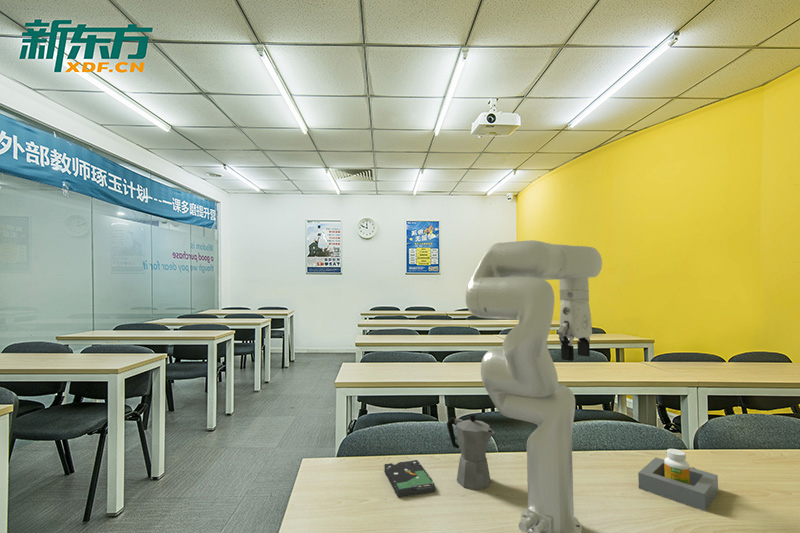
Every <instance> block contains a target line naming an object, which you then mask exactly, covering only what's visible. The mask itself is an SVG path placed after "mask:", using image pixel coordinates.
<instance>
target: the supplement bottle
mask: <svg viewBox="0 0 800 533" xmlns="http://www.w3.org/2000/svg"><path fill="white" fill-rule="evenodd" d="M666 455H667V457H665V458H664V459H663V460H664V468H665V477H666V478H670V479H673V480H676V481H679V482H682V483H686V484H689V485H690V468H689V467H690V464H689V462H688V461H686V460H687V457H686V456H687V455H686V453H685V452H684V451H683V450H680V449H676V448H668V449H667V450H666Z"/></svg>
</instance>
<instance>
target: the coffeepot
mask: <svg viewBox="0 0 800 533" xmlns="http://www.w3.org/2000/svg"><path fill="white" fill-rule="evenodd" d="M476 416H477V415H476V414H474V413H471V414H469V418H470V419H466V420H463V419H461V418H458V417H457V418H456V417H453V416H451V417H450V418H449V419H448V420H447V422H446V426H447V427H446V428H447V430H448V433H449V438H450V442H451V445H452V447H454V448H456V449H459V450H460V457H459V462H458V468H457V475H456V482H457V483H458V484H459V485H460V486H462V487H463V488H465V489H469V490H474V491H475V490H479V491H480V490H484V489H486V488H488V487H489V486H490V482H491V476H490V475H491V474H490V470H489V464H488V458H487V456H486V455H487V454H486V453H487V451H488V444H489V442H490V440H491V438H492V437H493V435H495V434H496V433H495V431H494V430H493V429H491V425H489V424H488V423H486V422H484V421H482V420H476ZM454 426H455V429H456V435H457V441H458V442H457V443H458V444H457V443H456V435H455V433H454Z"/></svg>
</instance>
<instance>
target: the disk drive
mask: <svg viewBox="0 0 800 533" xmlns="http://www.w3.org/2000/svg"><path fill="white" fill-rule="evenodd" d="M383 465H384V467H383V468H384V470H383V472H384V473H385V474H384V475H385V476H386V478H387V479H388V482H389V483H390V485H391V488H392V489H393V490H394V494H395V495H396V497H397V498H398V499H401V498H407V497H414V496H418V495H419V496H420V495H425V494H433V493H436V485H435V483H434V479H432V477H431V476H430V475H429V473H428V472H427V471H426V470H425V468H424V467H423V465H422V464H421V462H420V461H419V460H417V459H413V460H408V461H399V462H398V463H396V464H393V463H392V462H389V463H385V464H383Z"/></svg>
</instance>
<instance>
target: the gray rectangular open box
mask: <svg viewBox="0 0 800 533" xmlns="http://www.w3.org/2000/svg"><path fill="white" fill-rule="evenodd" d="M664 460H665V459H663V458H660V457H656V456H655V457H654V458H653V459H652V460H650V462H649V463H647V465H645V466H644V467H643V468H642V469H641V470H639V472H638V473H637V474H638V475H637V476H638V489H640V490H643V491H645V492H649V493H651V494H654V495H657V496H660V497H663V498H666V499H668V500H672V501H675V502H678V503H681V504H683V505H686V506H689V507H692V508H694V509H697V510H700V511H703V512H706V511H707V509H708V508H709V507H710V505H711V503H712V502H713V500H714V498H715V497H716V495H717V494H718V492H719V479H718V478H719V476H718V474H715V473H711V472H707V471H704V470H702V469H698V468H695V467H691V466H689V468H690V485H689V484H686V483H682V482H679V481H676V480H673V479H670V478H666V477H665V468H664Z"/></svg>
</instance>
